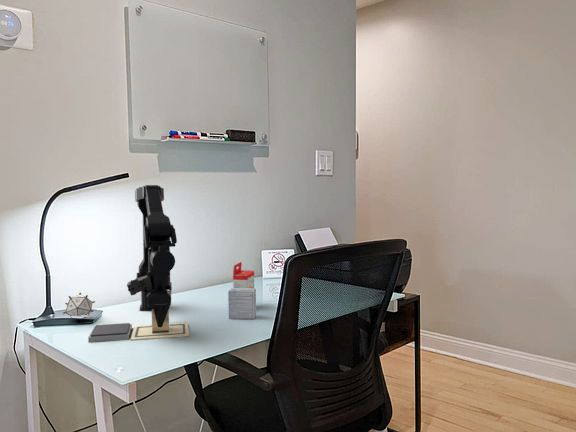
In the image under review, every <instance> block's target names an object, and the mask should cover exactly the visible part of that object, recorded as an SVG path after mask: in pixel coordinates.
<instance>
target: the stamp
mask: <svg viewBox="0 0 576 432" xmlns="http://www.w3.org/2000/svg"><path fill="white" fill-rule="evenodd" d="M169 311H170V309H169V310H168V313H167V315H166V318H165V320H164V323H163V326H162V327H158V326H157V322H156V318H155V314H154V310H153V309H152V310H151V325H152V333H165V332H169V324H170V314H169V313H170V312H169Z"/></svg>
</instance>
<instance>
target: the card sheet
mask: <svg viewBox="0 0 576 432" xmlns="http://www.w3.org/2000/svg"><path fill="white" fill-rule="evenodd" d="M130 336H131V337H130V338H129V340H130V341H141V340H154V339H169V338H181V337H184V338H185V337H190V333H189V323H188V322H178V323H177V322H176V323H169V332H165V333H152V324H148V325H143V324H142V325H134V326H133V327H132V331H131V335H130Z"/></svg>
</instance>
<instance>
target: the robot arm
mask: <svg viewBox="0 0 576 432" xmlns="http://www.w3.org/2000/svg"><path fill="white" fill-rule="evenodd" d="M164 200H165V188H164V187H161V185H158V184H145V185H143V186H139V187H137V188H135V190H134V201H135V203H137V207H138V209H139V211H140V212H141V214H142V246H143V249H142V250H143V253H142V254H143V259H141V262H140V263H139V266H138V272H136V277H135V278H134V279H131V280H129V281H128V282H127V284H126V287H127V291H128V292H129V294H130V296H134V295H137V294H139V293H140V298H141V300H140V303H141V304H140V306H139V311H152V309H153V310H154V314H155V318H156V322H157V326H158V327H162V326H163V323H164V320H165V318H166V315H167V313H168V310H169V311H170V307H171V305H172V288H173V287H172V286H173V285H172V284H173V283H172V282H171V271H172V270H173V268H174V267H175V264H176V259H175V258H176V257H175V255H173V253H172V252H171V249H170V248H172V247H176V244H177V242H178V240H177V234H176V229H175V227H174V225H173V224H171V220H170V217H169V216H167V215H166V214H165V213H164V208H163V203H162V202H164Z"/></svg>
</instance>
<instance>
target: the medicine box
mask: <svg viewBox="0 0 576 432" xmlns="http://www.w3.org/2000/svg"><path fill="white" fill-rule="evenodd" d="M227 295H228V296H227V302H228V319H231V320H232V319H233V320H234V319H235V320H255V318H256V316H257V289H256V288H255V287H254V288H233V287H231V288H230V289H229V290H228V291H227Z"/></svg>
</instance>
